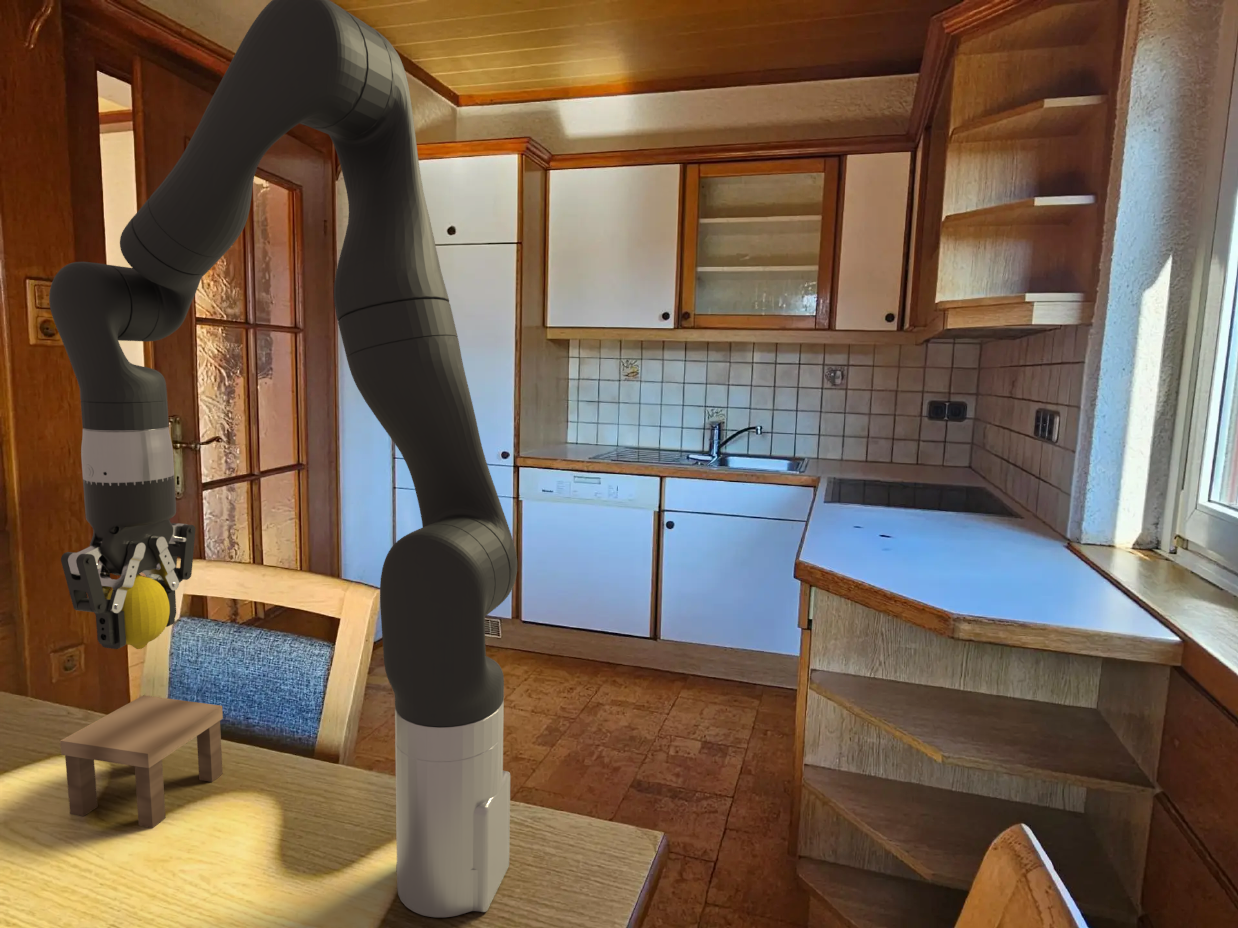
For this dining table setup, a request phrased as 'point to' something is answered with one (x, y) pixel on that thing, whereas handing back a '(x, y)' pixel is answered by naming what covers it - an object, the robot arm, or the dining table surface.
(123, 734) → the stool
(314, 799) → the dining table surface
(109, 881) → the dining table surface
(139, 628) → the lemon
